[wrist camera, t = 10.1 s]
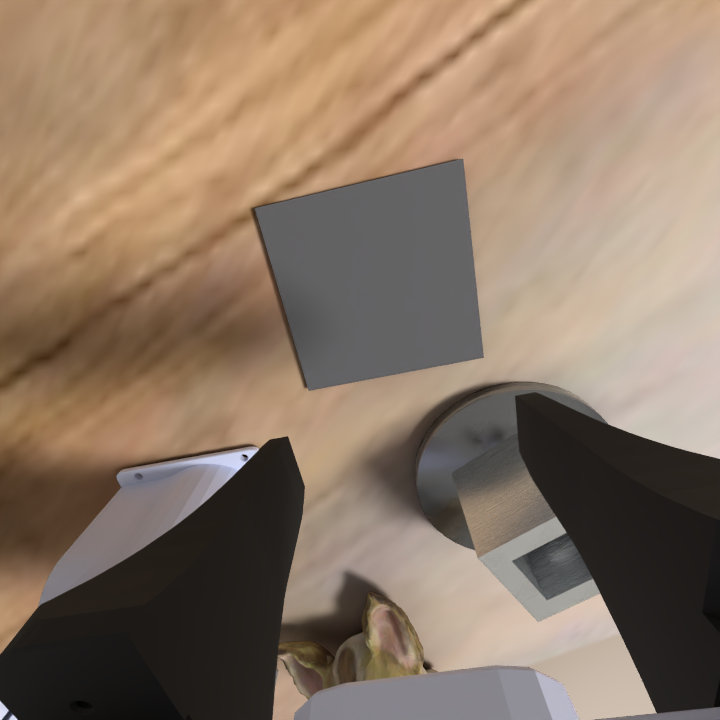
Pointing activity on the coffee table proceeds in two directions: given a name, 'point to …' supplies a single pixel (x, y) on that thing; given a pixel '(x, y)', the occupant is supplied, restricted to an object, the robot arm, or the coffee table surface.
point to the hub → (472, 447)
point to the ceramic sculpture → (359, 652)
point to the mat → (377, 275)
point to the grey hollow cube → (520, 533)
